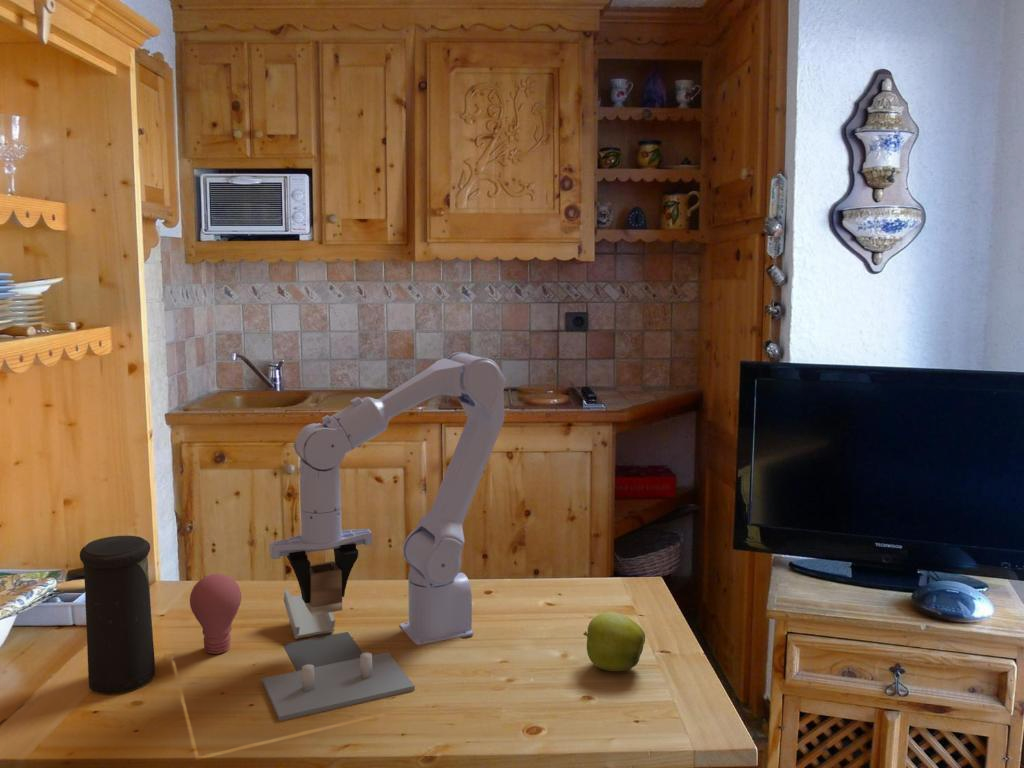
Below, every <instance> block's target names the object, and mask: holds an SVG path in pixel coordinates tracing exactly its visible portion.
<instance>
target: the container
mask: <svg viewBox="0 0 1024 768" xmlns="http://www.w3.org/2000/svg"><path fill="white" fill-rule="evenodd" d="M150 550H151V544H150V542H149V541H148V540H146V539H145V538H143V537H141V536H137V535H115V536H114V535H113V536H106V537H102V538H99V539H95V540H92V541H90V542H88V543H87V544H86V545H84V546H83V547H82V549H80V551H79V560H80V561H81V563H82V564H83V575H84V576H83V578H84V596H85V597H84V598H85V601H84V602H85V621H86V622H85V623H86V646H87V647H86V649H87V675H88V676H87V677H88V687H89V689H90V690H91V691H92V692H94V693H97V694H99V695H120V694H124V693H129V692H131V691H134V690H137V689H139V688H142V687H144V686H145V685H147V684H149V682H151V681H152V680H153V678H154V677H155V675H156V664H155V663H156V659H155V646H154V634H153V633H154V631H153V619H152V607H151V605H152V604H151V593H150V592H151V591H150V577H149V562H148V561H149V560H148V556H149V553H150V552H151V551H150Z"/></svg>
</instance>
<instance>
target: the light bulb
mask: <svg viewBox="0 0 1024 768" xmlns="http://www.w3.org/2000/svg"><path fill="white" fill-rule="evenodd" d="M241 604H242V591H241V588H240V586H239V584H238V582H237V581H236V580H235V579H234V578H232V577H231V576H229V575H226V574H224V573H212V574H209V575H205V576H204V577H202V578H201V579H199V580H198V581H197V582H196V583H195V585H194V586H193V588H192V590H191V593H190V597H189V607H190V610H191V612H192V614H193V615H194V617H195V619H196V620H197V622H198V623H199V625H200V626H201V627H202V635H203V647H204V652H206V653H208V654H214V655H215V654H222V653H225V652H227V651H229V650H230V649H231V641H232V638H231V634H230V632H232V630H233V629H232V623H233V621H234V619H235V618H236V615H237V613H238V611H239V608H240V606H241Z"/></svg>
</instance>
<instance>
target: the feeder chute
mask: <svg viewBox="0 0 1024 768" xmlns="http://www.w3.org/2000/svg"><path fill="white" fill-rule="evenodd" d="M283 592H284V594H283V603H284V606H285V609H286V613H287V617H288V621H289V623H290V626H291V630H292V634H293V638H294V639H301V638H306V637H312V636H318V635H322V634H323V635H324V634H329V633H332V632H333V633H334V632H335V626H336V625H335V623H336V619H335V617H334V616H335V615H334V614H333V613H334V612H330V613H324V614H319V615H313V616H312V615H311V613H310V612H309V610H308V608H307V607H306V605H305V602H304V601H303V599H302V595H301V594H299V595H294V596H291V593H290V590H289V588H286V589H284V591H283Z"/></svg>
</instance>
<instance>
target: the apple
mask: <svg viewBox="0 0 1024 768" xmlns="http://www.w3.org/2000/svg"><path fill="white" fill-rule="evenodd" d="M582 635H583V636H586V638H587V639H586V652H587V656H588V658H589V660H590V662H591V663H592V664H593V665H595V667H597V668H599V669H601V670H603V671H609V672H622V671H627V670H629V669H632V668H635V666H637V665H638V664H639V661H640V657H641V655H642V653H643V650H644V645H645V643H646V642H645V641H646V633H645V632H644V630H643V627H641V626H640V625H639V624H638V623H637V622H636V621H634V620H633V619H631V618H630V617H628V616H627V615H624V614H622V613H619V612H616V611H615V612H614V611H606V612H602V613H601V612H600V613H599V614H598V615H595V617H593V618H592V619H591V620H590V621H589V623H588V625H587V631H584V632H583V634H582Z"/></svg>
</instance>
